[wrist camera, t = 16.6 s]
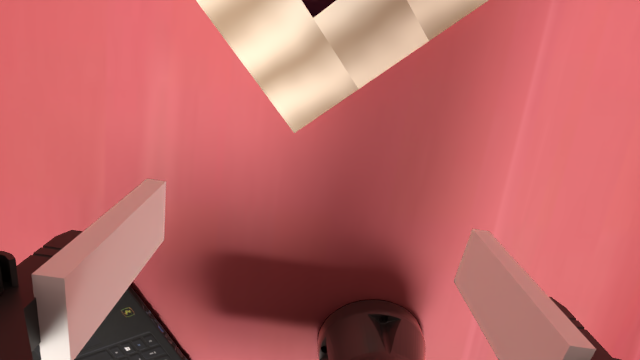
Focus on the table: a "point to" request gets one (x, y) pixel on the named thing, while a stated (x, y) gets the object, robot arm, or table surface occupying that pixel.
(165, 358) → the laptop
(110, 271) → the robot arm
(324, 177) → the table surface
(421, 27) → the hole block
